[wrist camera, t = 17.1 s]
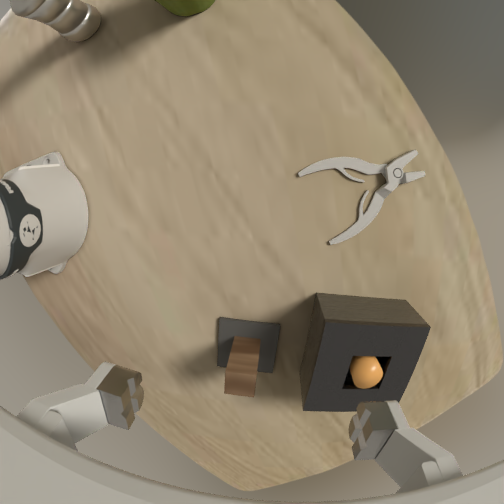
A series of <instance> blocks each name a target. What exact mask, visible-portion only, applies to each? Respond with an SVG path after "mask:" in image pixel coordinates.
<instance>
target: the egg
mask: <svg viewBox="0 0 504 504" xmlns="http://www.w3.org/2000/svg"><path fill="white" fill-rule="evenodd" d="M349 369H350V372H351V375H352V379H353V382H354V384H355V386H357V387H358V388H362V389H366V388H370V387H373V386H374V385H376V384H377V383H378V382H379V381H380V380H381V378H382V376H383V371H382V368H381V366H380V364H379V362H378V360H377V358H376V356H353V357H352V360H351V363H350V366H349Z"/></svg>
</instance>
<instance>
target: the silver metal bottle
mask: <svg viewBox="0 0 504 504" xmlns="http://www.w3.org/2000/svg"><path fill="white" fill-rule="evenodd" d="M10 4H11V8H12V11H13V12H14V13H15V14H16V15H18V16H21V17H25V18H29V19H33V20H37V21H39V22H42V23H44V24H47V25H49V26H50V27H52V28H53V29H55V30H56V31H58V32H59V33H60V34H61V35H62V36H63V37H64V38H65V39H67V40H69V41H73V42H80V41H83V40H86V39H88V38H89V37H91V36H92V35H93V34H94V33H95V32H96V31H97V29H98V28H99V26H100V23H101V14H100V13H99V11H98V10H97V9H96V8H95V7H94V6H92V5H90V4H87V3H84V2H82V1H80V0H10Z"/></svg>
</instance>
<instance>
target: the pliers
mask: <svg viewBox="0 0 504 504" xmlns="http://www.w3.org/2000/svg"><path fill="white" fill-rule="evenodd" d="M416 155H418V152H417V151H416V150H411V151H409V152H407V153H405V154H403V155H401V156H399V157H397V158H396V159H394V160H393V161H392V162H391V163H390V164H388V165H387V164H381V165H377V164H372V163H368V162H366V161H364V160H361V159H359V158H353V157H335V158H329V159H325V160H322V161H319V162H316V163H314V164H311V165H310V166H308V167H306V168H305V169H303V170H302V171H300V172H299V173H298V175H299V177H300V176H303V175H306V174H309V173H312V172H316V171H320V170H324V169H331V168H336V169H338V170H339V171H340V172H342V173H343V174H344V175H345V176H346V177H348V178H350V179H352V180H355V181H359V182H364V180H361V179H357V178H354V177H352V176H350V175H349V174H347V172H346V171H345V170H344V168H351V169H354V170H357V171H360V172H362V173H365V174H367V175H369V174H377V173H382V175H383V176H384V177H385V179H386V182H387V183H386V184H384V185H382V186H381V187H380V188H379V189H378V190H376V191H375V193H374V195H373V198H372V200H371V203H370V205H369V207H368V209H367V210H366V212H365V213H364V214H363V210H362V208H363V202H364V200H365V198H366V196H367V194H368V192H369V191H368V190H366V192H365V193H364V195H363V197H362V199H361V201H360V205H359V217H358V220H357V221H356V222H355V223H354V224H353V225H352V226H350V227H349V228H348V229H347V230H345V231H344V232H342V233H341V234H339V235H338V236H336V237H334V238H333V239H331V240H329V243H330V245H332V244H336V243H339V242H342V241H345V240H347V239H349V238H351V237H353V236H354V235H356V234H358V233H359V232H360V231H362V230H363V229H364V228H365V227H366V226H367V225H369V224H370V223H371V222H372V220H373V219H374V218H375V217H376V216H377V214H378V212H379V211H380V209H381V207H382V204H383V201H384V199H385V198H386V197H387V196H388V195H389V194H390V193H391V192H392V191H393V190H394V189H396V188H397V187H398V184H402V183H408V182H411V181H413V180H416V179H418V178H421V177H424V176H425V171H416V172H407V173H403V170H402V169H403V167H404V166H405V165H406V164H407V163H408V162H410V161H411V160H412V159H413V158H414V157H415V156H416Z"/></svg>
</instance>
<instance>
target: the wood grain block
mask: <svg viewBox="0 0 504 504" xmlns="http://www.w3.org/2000/svg"><path fill="white" fill-rule="evenodd" d="M260 341H261V339H257V338H248V337H240V336H235V337H234V341H233V345H232V348H231V352H230V356H229V360H228V364H227V367H226V371H225V391H224V393H225V394H232V395H240V396H248V397H254V393H255V385H256V377H257V368H258V359H259V350H260Z"/></svg>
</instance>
